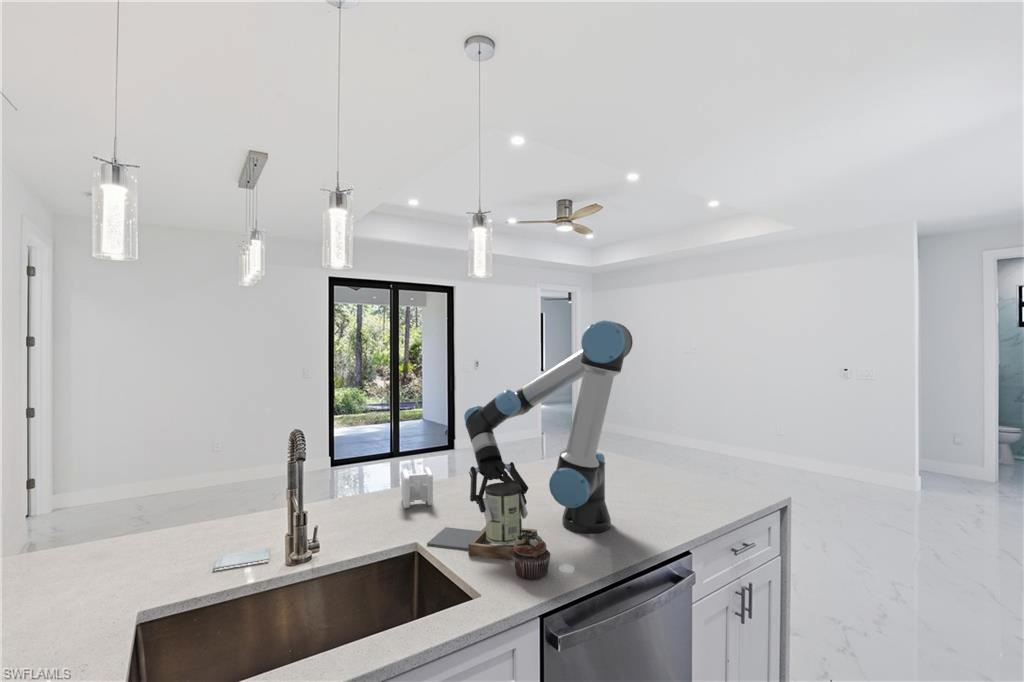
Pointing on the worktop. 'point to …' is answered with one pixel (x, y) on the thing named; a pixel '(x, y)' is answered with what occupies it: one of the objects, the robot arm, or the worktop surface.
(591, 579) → the worktop surface
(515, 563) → the cupcake
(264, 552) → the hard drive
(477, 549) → the walnut collar
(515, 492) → the coffee can
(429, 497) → the cable organizer
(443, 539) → the rubber pad
